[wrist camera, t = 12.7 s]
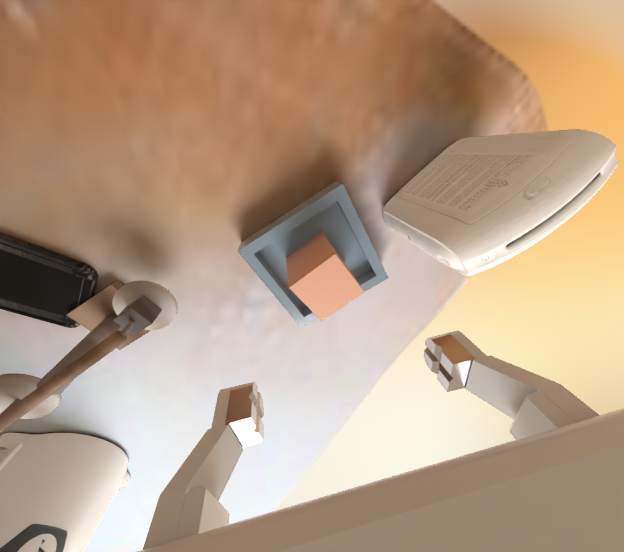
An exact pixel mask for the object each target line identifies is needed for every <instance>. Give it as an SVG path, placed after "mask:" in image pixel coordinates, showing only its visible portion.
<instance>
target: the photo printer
mask: <svg viewBox="0 0 624 552" xmlns="http://www.w3.org/2000/svg"><path fill="white" fill-rule="evenodd" d="M616 148H617V147H616V145H615V144H614V143H613V142H612V141H611V140H609V139H607V138H606V137H604V136H602V135H600V134H597V133H594V132H591V131H586V130H580V129H572V130H571V129H570V130H558V131H545V132H532V133H520V134H508V135H494V136H480V137H467V138H462V139H460V140H458V141H456V142H455V143H453V144H452V145H450V146H449V147H448V148H446V149H445V150H444V151H443V152H442V153H441V154H439V155H438V156H437V157H436V158H435V159H434V160H432V161H431V162H430V163H429V164H428V165H427V166H426V167H425V168H423V169H422V170H421V171H420V172H419V173H418V174H417V175H416V176H415V177H414V178H412V179H411V180H410V181H409V182H408V183H407V184H406V185H405V186H404V187H403V188H401V189H400V190H399V191H398V192H397V193H396V194H395V195H394V196H393V197H392V198H391V199H390V200H389V201H388V202H387V204H386V205H385V206H384V207H383V209H382V210H383V211H384V212H383V218H384V221H385V223H386V225H387V226H388V227H389V228H391V229H392V230H394V231H395V232H396V233H398V234H399V235H401V236H402V237H404V238H405V239H407V240H408V241H410V242H411V243H413V244H414V245H416V246H417V247H419V248H420V249H422V250H423V251H425V252H426V253H428V254H429V255H431V256H432V257H434V258H435V259H437V260H438V261H440V262H441V263H443V264H445V265H447V266H449V267H451V268H453V269H455V270H456V271H458V272H459V273H462V274H464V275H468V276H469V275H473V274H476V273H478V272H481V271H484V270H486V269H489V268H491V267H493V266H495V265H497V264H500V263H502V262H503V261H506V260H508V259H510V258H511V257H513V256H515V255H516V254H518V253H520V252H522V251H523V250H525V249H527V248H529V247H530V246H532V245H534V244H535V243H537V242H538V241H540V240H541V239H543V238H544V237H546V236H547V235H548V234H550V233H551V232H552V231H554V230H555V229H556V228H558V227H559V226H561V225H562V224H563V223H564V222H566V221H567V220H568V219H569V218H571V217H572V216H573V215H574V214H575V213H576V212H577V211H579V210H580V209H581V208H582V207H583V206H584V205H585V204H586V203H587V202H588V201H589V200H590V199H591V198H592V197H593V196H594V195H595V194H596V193H597V192H598V191H599V190H600V188H601V187H602V186H603V185H604V184H605V182H606V181H607V180H608V178H609V177H610V176H611V174H612V173H613V171H614V170H615V168H616V167H617V165H618V161H617V160H616V158H615V151H616Z"/></svg>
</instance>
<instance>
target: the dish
mask: <svg viewBox="0 0 624 552" xmlns="http://www.w3.org/2000/svg"><path fill="white" fill-rule="evenodd" d="M321 231H322V233H323V234H324V235H325V237H326V238H327V239H328V241H329V242H330V243H331V245H332V246H333V247H334V249H335V250H336V251H337V253H338V254H339V255H340V257H341V258H342V259H343V261H344V262H345V263H346V265H347V266H348V268H349V270H350V271H351V273H352V274H353V276H354V277H355V279H356V280H357V282H358V283H359V285H360V286H361V288H362V289H363V291H364V292H365V291H366V290H368V289H370V288H372V287H373V286H375V285H377V284H379V283H380V282H382V281H384V280H386V279H388V276H387V274H386V272H385V270H384V268H383V266H382V264H381V262H380V259H379V257H378V255H377V253H376V251H375V249H374V247H373V245H372V243H371V241H370V239H369V237H368V235H367V233H366V230H365V228H364V226H363V224H362V222H361V220H360V218H359V216H358V214H357V212H356V210H355V208H354V206H353V204H352V202H351V199H350V197H349V195H348V193H347V191H346V189H345V187H344V185H343V184H342V183H340V182H338V181H335V182H333V183H332V184H330V185H329V186H327V187H326V188H324V189H323V190H321V191H320V192H318V193H316V194H315V195H313V196H312V197H310V198H309V199H307V200H306V201H304V202H303V203H301V204H299V205H298V206H296V207H295V208H293V209H292V210H290V211H289V212H287V213H286V214H284V215H282V216H281V217H279V218H278V219H276V220H275V221H273V222H272V223H270V224H269V225H267V226H265V227H264V228H262V229H261V230H259V231H258V232H256V233H255V234H253V235H251V236H250V237H248V238H247V239H245V240H244V241H242V242H241V244H240V246H239V249H238V252H239V254H240V255H241V256H242V257H243V258H244V260H245V261H246V262H247V263H248V264H249V266H250V267H251V268H252V269H253V270H254V272H255V273H256V274H257V275H258V276H259V277H260V279H261V280H262V281H263V282H264V283H265V285H266V286H267V287H268V288H269V289H270V291H271V292H272V293H273V294H274V295H275V297H276V298H277V299H278V300H279V301H280V303H281V304H282V305H283V306H284V307H285V309H286V310H287V311H288V312H289V313H290V315H291V316H292V317H293V318H294V319H295V321H296V322H297V323H298V324H299V325H300V327H303V326H304V325H306V324H308V323H310V322H311V321H313V320H315V319H317V318H318V317H317V316H316V315H315V314H314V313H313V312H312V311H311V310H310V309H309V308H308V307H307V306H306V305H305V304H304V303H303V302H302V301H301V300H300V299H299V298H298V296H297V295H296V294H295V293H294V292H293V291H292V290H291V289H290V288H289V282H288V273H287V263H286V258H287V257H288V256H290V255H291V254H292V253H294V252H295V251H296V250H297V249H299V248H300V247H301V246H303V245H304V244H305V243H307V242H308V241H309V240H311V239H312V238H313V237H314V236H316V235H317V234H318V233H320V232H321Z"/></svg>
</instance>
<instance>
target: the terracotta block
mask: <svg viewBox="0 0 624 552" xmlns="http://www.w3.org/2000/svg"><path fill="white" fill-rule="evenodd" d="M286 263H287V273H288V282H289V288H290V289H291V290H292V291H293V292H294V293H295V294H296V295H297V296H298V298H299V299H300V300H301V301H302V302H303V303H304V304H305V305H306V306H307V307H308V308H309V309H310V310H311V311H312V312H313V313H314V314H315V315H316V316H317V317H318V318H319V319H320V320H321V321H323V320H324V319H325V318H327V317H328V316H330V315H331V314H333V313H334V312H336V311H337V310H339V309H340V308H342V307H343V306H345V305H346V304H348V303H349V302H350V301H352V300H353V299H355V298H356V297H358V296H359V295H361V294H362V293H364V291H363V289H362V288H361V286H360V285H359V283H358V282H357V280H356V279H355V277H354V276H353V274H352V273H351V271H350V270H349V268H348V266H347V265H346V263H345V262H344V261H343V259H342V258H341V257H340V255H339V254H338V253H337V251H336V250H335V249H334V247H333V246H332V245H331V243H330V242H329V241H328V239H327V238H326V237H325V235H324V234H323V233H322V231H321V232H320V233H318V234H317V235H316V236H314V237H313V238H312V239H311V240H309V241H308V242H307V243H305V244H304V245H303V246H301V247H300V248H299V249H297V250H296V251H295V252H294V253H292V254H291V255H290V256H288V257H287V258H286Z"/></svg>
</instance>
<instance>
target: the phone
mask: <svg viewBox="0 0 624 552" xmlns="http://www.w3.org/2000/svg"><path fill="white" fill-rule="evenodd" d="M97 280H98V274H97V272H96V271H95V269H94V268H92V267H91V266H89V265H87V264H85V263H82V262H79V261H77V260H74V259H71V258H69V257H66V256H63V255H60V254H58V253H55V252H52V251H50V250H47V249H44V248H41V247H39V246H36V245H33V244H31V243H28V242H25V241H22V240H20V239H17V238H14V237H12V236H9V235H6V234H3V233H1V232H0V309H3V310H7V311H10V312H14V313H17V314H21V315H25V316H28V317H32V318H35V319H39V320H42V321H46V322H50V323H53V324H57V325H60V326H64V327H69V328H75V327H78V326H79V325H81V324H79V323H78V322H76V321H75V320H73V319H72V318H70V317H69V316H67V314H68V313H70V312H71V311H73V310H74V309H76V308H77V307H78V306H80V305H81V304H83V303H85V302H86V301H87V300H89V299H90V298H91V297H93V294H94V290H95V287H96V283H97Z"/></svg>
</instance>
